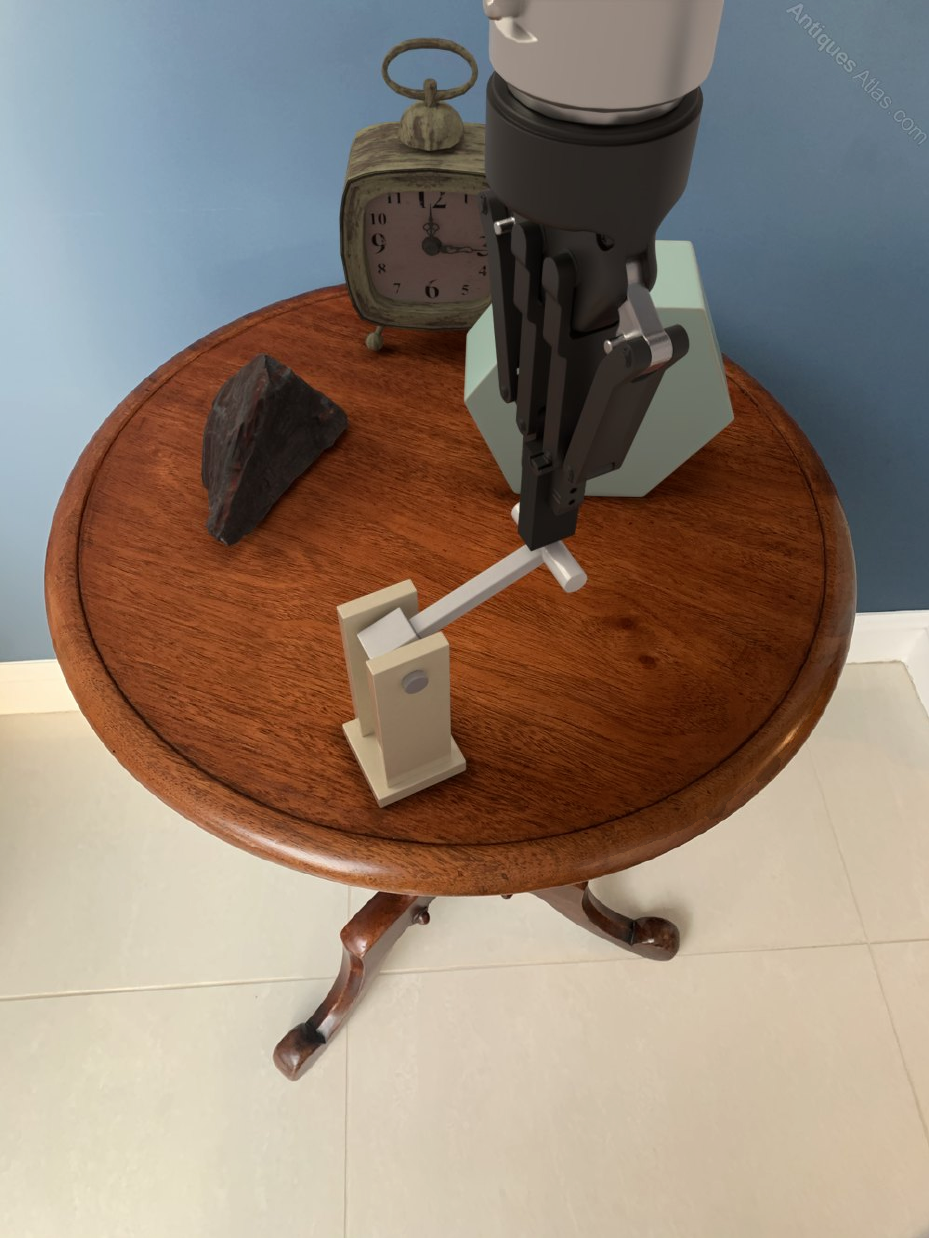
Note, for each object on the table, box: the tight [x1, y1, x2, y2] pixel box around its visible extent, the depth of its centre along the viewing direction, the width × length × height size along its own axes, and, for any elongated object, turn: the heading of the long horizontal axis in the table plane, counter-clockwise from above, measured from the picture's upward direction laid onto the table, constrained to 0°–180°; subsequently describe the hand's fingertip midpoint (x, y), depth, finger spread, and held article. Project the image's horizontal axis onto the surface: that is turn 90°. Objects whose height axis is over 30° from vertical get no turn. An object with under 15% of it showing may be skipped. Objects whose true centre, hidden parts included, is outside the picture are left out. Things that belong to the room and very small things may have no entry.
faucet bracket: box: [336, 578, 467, 809], centre depth 57 cm, size 6×6×14 cm
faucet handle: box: [357, 501, 588, 659], centre depth 53 cm, size 12×6×2 cm, turn 116°
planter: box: [463, 239, 735, 498], centre depth 72 cm, size 17×8×21 cm
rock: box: [200, 352, 351, 547], centre depth 74 cm, size 7×18×9 cm, turn 152°
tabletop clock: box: [338, 37, 492, 352], centre depth 79 cm, size 14×9×25 cm, turn 89°
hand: (546, 533), depth 52 cm, fingers closed
